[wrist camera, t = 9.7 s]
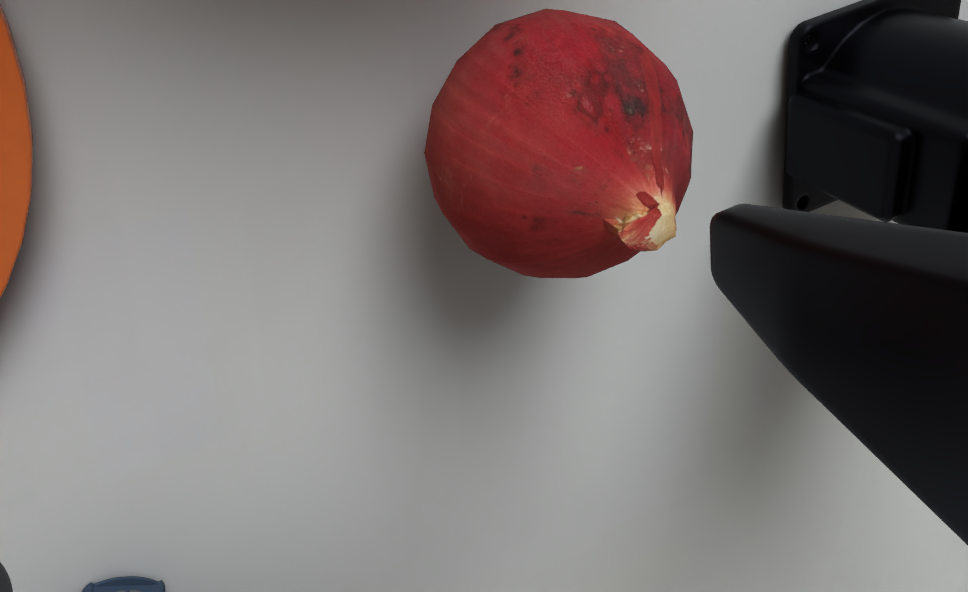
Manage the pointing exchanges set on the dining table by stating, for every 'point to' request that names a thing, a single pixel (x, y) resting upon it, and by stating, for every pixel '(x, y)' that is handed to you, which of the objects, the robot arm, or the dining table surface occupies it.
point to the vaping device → (126, 585)
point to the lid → (13, 154)
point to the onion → (560, 146)
